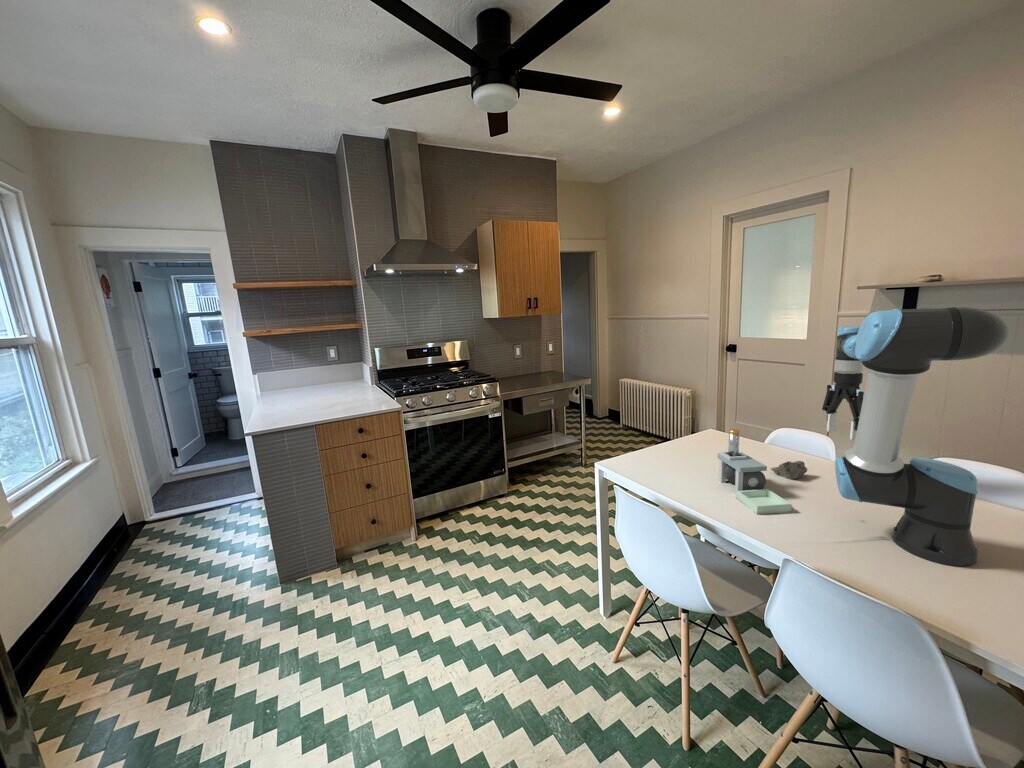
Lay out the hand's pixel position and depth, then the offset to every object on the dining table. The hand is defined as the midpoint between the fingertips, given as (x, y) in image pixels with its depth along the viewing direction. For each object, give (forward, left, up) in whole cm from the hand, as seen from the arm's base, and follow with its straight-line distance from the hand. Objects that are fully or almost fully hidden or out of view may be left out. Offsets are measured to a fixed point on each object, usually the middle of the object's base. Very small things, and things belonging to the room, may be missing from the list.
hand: (842, 435), depth 136 cm
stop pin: (+3, +37, -7) cm, 38 cm away
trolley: (0, +36, -17) cm, 40 cm away
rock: (+1, +13, -11) cm, 17 cm away
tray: (-13, +36, -17) cm, 42 cm away
